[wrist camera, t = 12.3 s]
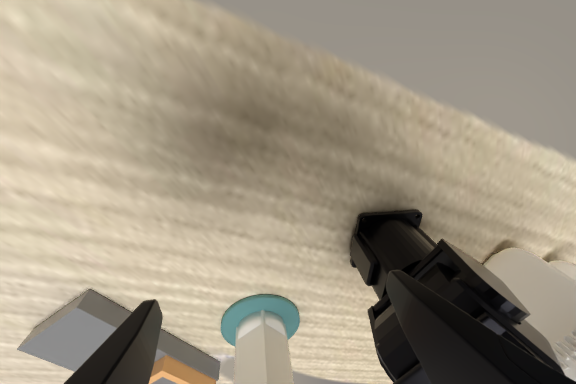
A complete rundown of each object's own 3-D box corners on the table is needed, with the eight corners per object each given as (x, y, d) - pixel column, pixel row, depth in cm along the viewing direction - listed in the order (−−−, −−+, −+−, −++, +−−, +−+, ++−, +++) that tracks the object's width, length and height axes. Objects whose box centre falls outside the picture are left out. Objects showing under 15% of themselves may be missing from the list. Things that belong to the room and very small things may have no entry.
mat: (300, 290, 27) (301, 294, 27) (297, 339, 31) (298, 344, 31) (216, 299, 26) (216, 304, 25) (225, 349, 30) (225, 354, 29)
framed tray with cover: (220, 362, 31) (217, 394, 28) (173, 389, 32) (165, 423, 29) (89, 288, 23) (65, 323, 20) (33, 328, 24) (2, 367, 21)
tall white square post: (292, 324, 29) (312, 438, 20) (259, 345, 30) (264, 463, 21) (263, 304, 26) (270, 423, 18) (228, 328, 27) (218, 452, 19)
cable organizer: (478, 328, 37) (567, 429, 26) (425, 319, 34) (502, 431, 23) (557, 252, 31) (709, 345, 21) (501, 234, 28) (648, 332, 18)
